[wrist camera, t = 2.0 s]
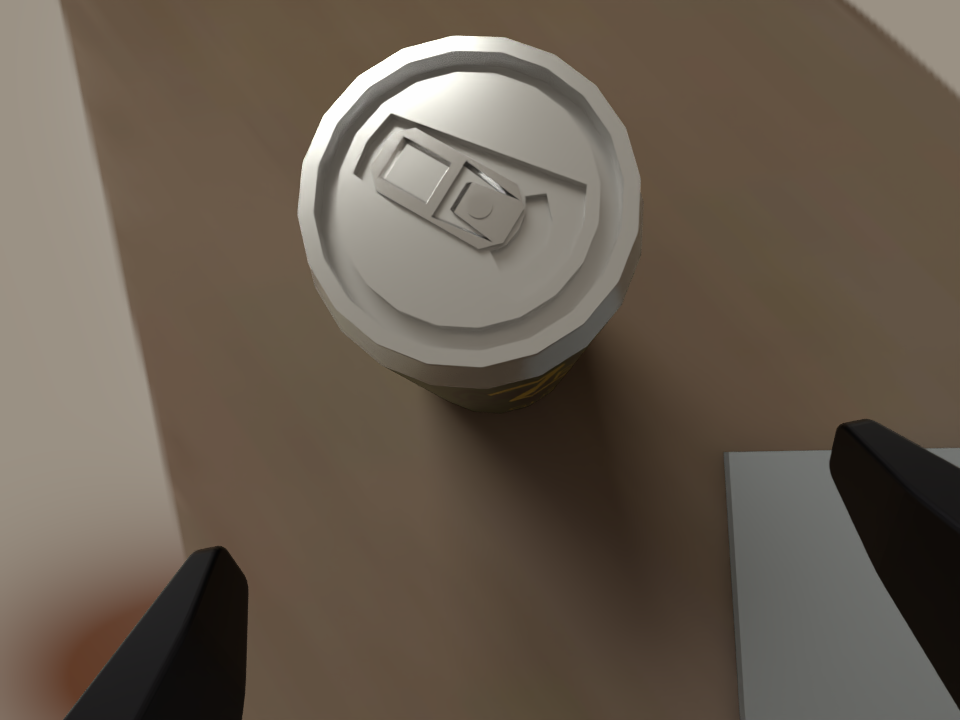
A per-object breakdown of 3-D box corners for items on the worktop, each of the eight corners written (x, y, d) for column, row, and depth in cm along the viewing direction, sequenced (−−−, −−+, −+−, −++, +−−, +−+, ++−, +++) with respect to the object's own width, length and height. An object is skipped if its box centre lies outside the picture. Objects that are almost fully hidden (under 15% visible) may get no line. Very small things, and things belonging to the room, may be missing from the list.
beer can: (379, 359, 22) (210, 263, 10) (465, 219, 22) (406, -41, 10) (523, 446, 21) (533, 458, 9) (609, 300, 21) (727, 128, 9)
